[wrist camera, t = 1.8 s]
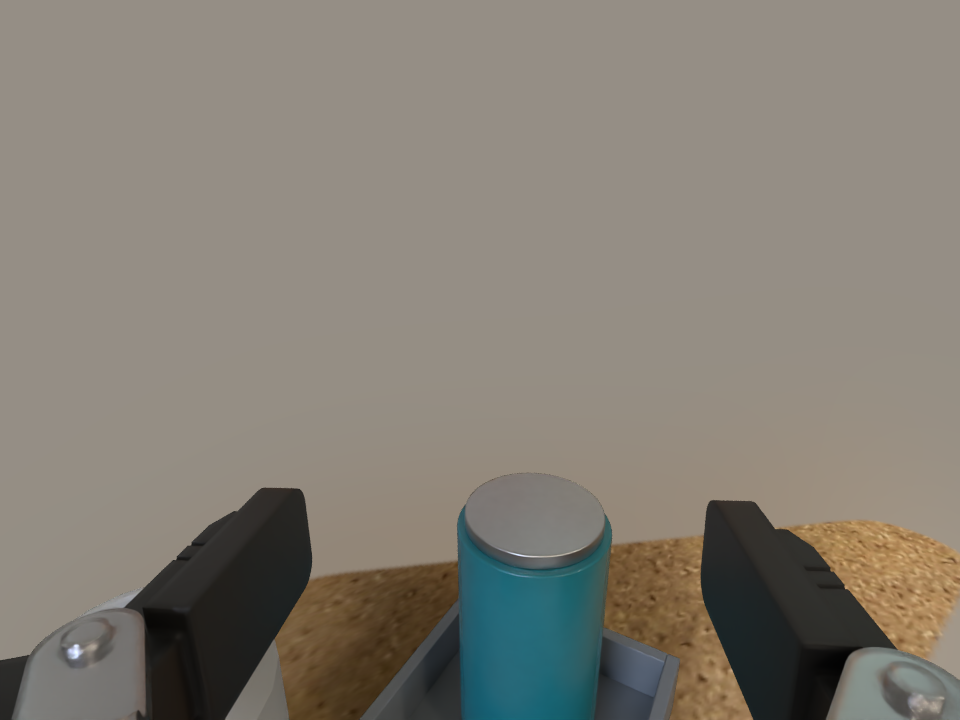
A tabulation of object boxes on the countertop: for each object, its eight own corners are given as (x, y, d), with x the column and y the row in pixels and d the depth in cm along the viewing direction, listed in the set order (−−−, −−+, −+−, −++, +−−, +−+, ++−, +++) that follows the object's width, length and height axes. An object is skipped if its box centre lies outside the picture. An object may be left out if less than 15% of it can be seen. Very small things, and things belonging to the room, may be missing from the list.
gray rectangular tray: (360, 774, 24) (354, 724, 23) (477, 616, 32) (477, 574, 31) (609, 948, 18) (617, 893, 17) (672, 705, 27) (680, 658, 26)
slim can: (435, 753, 24) (425, 527, 20) (499, 653, 29) (502, 455, 25) (562, 831, 21) (581, 586, 17) (609, 706, 26) (632, 493, 22)
